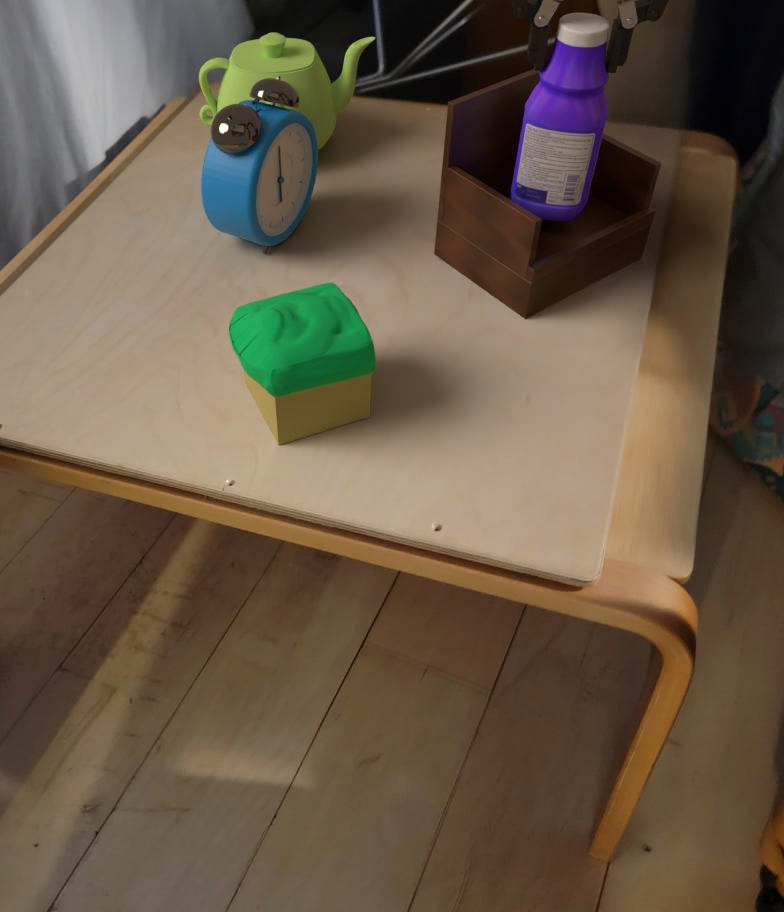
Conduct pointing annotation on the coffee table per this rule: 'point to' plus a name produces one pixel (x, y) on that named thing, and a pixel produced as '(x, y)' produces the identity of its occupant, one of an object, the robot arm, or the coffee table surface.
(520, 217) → the box
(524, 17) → the robot arm
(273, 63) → the teapot
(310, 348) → the cake
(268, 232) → the alarm clock
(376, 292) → the coffee table surface
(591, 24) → the bottle
